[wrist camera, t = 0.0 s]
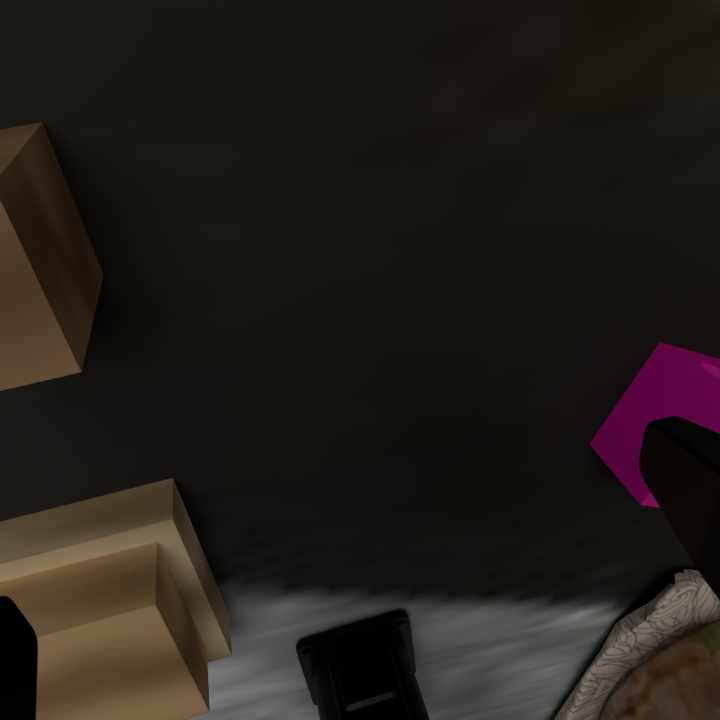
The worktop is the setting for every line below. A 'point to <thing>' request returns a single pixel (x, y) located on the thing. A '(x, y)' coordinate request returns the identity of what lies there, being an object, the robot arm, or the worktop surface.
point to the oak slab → (113, 640)
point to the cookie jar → (657, 661)
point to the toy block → (658, 409)
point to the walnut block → (41, 264)
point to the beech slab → (122, 547)
